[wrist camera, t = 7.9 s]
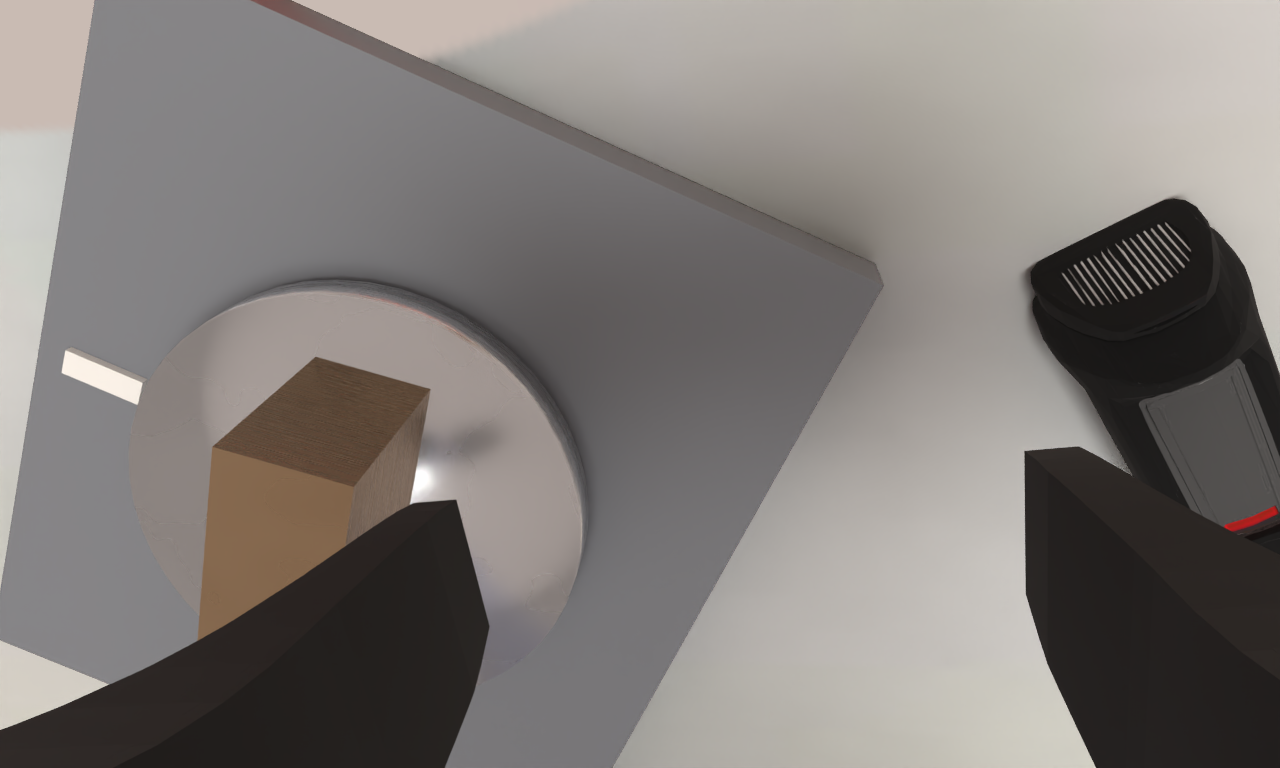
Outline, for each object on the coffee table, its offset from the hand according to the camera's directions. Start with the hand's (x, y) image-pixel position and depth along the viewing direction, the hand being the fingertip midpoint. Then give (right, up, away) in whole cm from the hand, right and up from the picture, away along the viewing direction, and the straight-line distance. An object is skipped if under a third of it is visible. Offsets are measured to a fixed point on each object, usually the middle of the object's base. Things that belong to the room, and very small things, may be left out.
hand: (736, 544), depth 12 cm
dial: (-7, 0, +9) cm, 12 cm away
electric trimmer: (+12, -1, +10) cm, 15 cm away
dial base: (-7, 0, +11) cm, 13 cm away
